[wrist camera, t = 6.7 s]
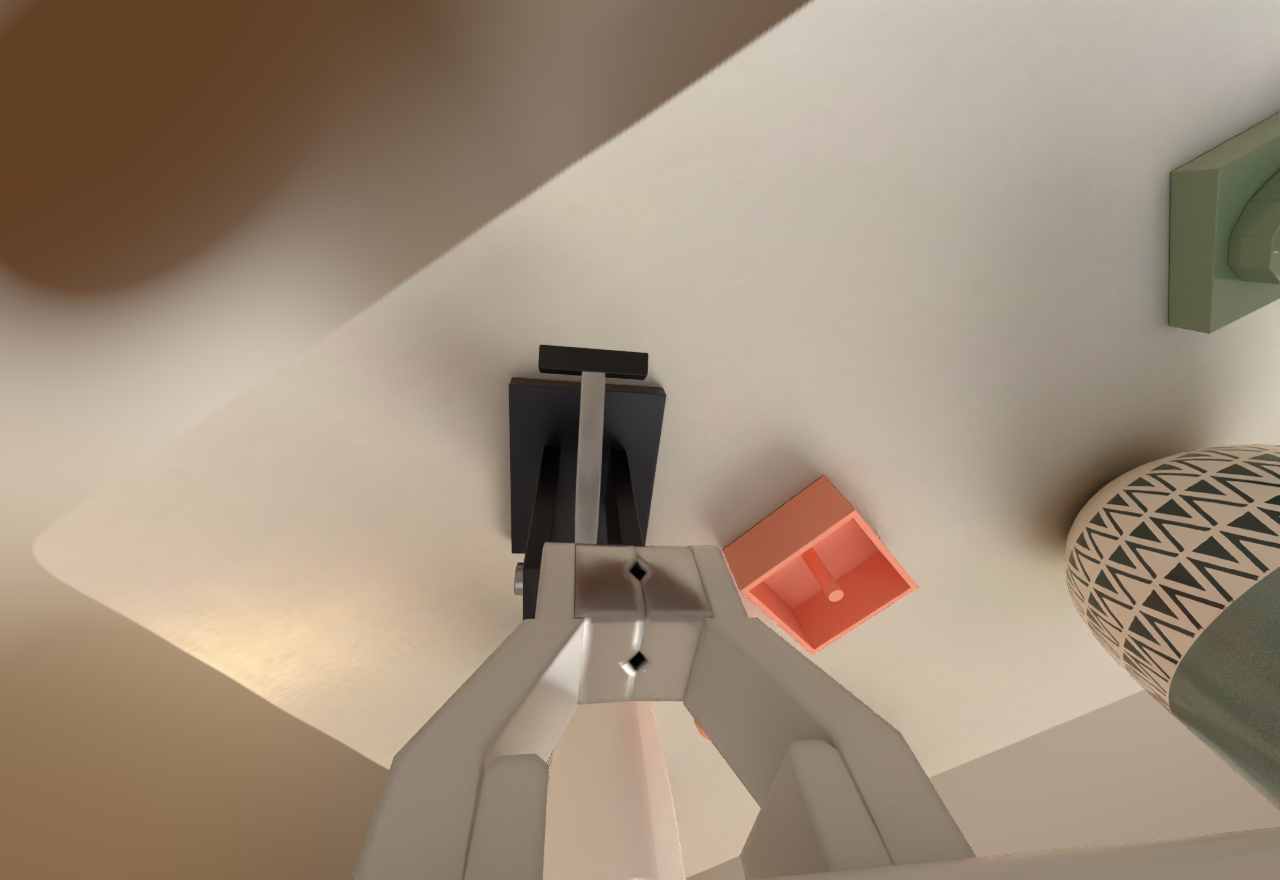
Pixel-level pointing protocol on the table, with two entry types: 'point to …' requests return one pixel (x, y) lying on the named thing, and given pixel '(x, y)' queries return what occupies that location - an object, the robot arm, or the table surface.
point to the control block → (1226, 231)
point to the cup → (611, 799)
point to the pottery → (816, 568)
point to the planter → (1193, 594)
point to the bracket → (550, 469)
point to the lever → (590, 418)
